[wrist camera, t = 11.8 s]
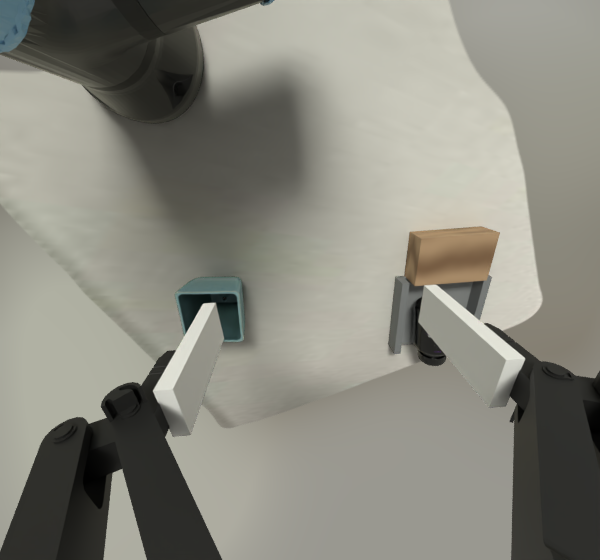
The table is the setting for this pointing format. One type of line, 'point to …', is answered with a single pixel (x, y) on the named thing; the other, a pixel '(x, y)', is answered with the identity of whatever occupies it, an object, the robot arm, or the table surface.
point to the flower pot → (214, 292)
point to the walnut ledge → (450, 255)
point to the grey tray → (407, 294)
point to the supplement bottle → (425, 341)
